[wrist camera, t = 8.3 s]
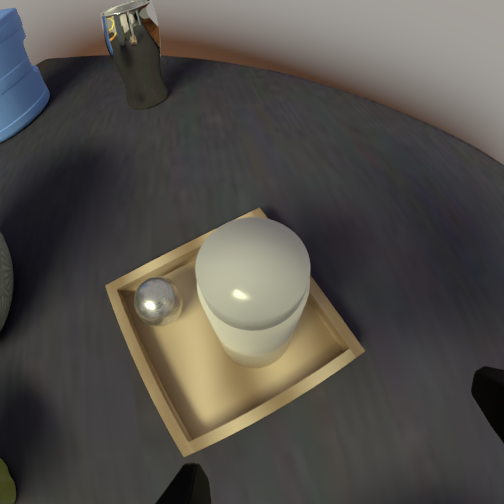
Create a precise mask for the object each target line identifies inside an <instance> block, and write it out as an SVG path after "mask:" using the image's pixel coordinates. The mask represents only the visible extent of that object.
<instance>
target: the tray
mask: <svg viewBox="0 0 504 504" xmlns="http://www.w3.org/2000/svg"><path fill="white" fill-rule="evenodd" d="M247 217H259V218H266V219H268V218H267V217H266V215H265V214H264V213H263V211H262V210H261V209H260V208H258V209H256V210H254V211H251V212H249V213H247V214H245V215H243V216H241V217H239V218H237V219H241V218H247ZM237 219H235V220H237ZM218 228H219V227H218ZM216 229H217V228H216ZM216 229H214V230H212V231H210V232H208V233H206V234H204V235H202V236H200V237H198V238H196V239H194V240H192V241H190V242H188V243H186V244H184V245H182V246H180V247H178V248H176V249H174V250H173V251H171V252H169V253H167V254H165V255H163V256H161V257H159V258H157V259H155V260H153V261H151V262H149V263H147V264H145V265H143V266H141V267H140V268H138V269H136V270H134V271H132V272H130V273H128V274H126V275H124V276H122V277H121V278H119V279H117V280H115V281H113V282H111V283H109V284H107V285H106V286H105V287H106V290H107V292H108V295H109V298H110V301H111V304H112V306H113V309H114V312H115V315H116V317H117V320H118V323H119V325H120V328H121V330H122V333H123V335H124V338H125V340H126V343H127V345H128V347H129V350H130V352H131V354H132V357H133V359H134V361H135V364H136V366H137V368H138V370H139V372H140V375H141V377H142V379H143V381H144V383H145V385H146V387H147V390H148V392H149V394H150V396H151V398H152V400H153V402H154V404H155V406H156V408H157V410H158V412H159V414H160V415H161V417H162V419H163V421H164V423H165V425H166V427H167V429H168V430H169V432H170V434H171V436H172V438H173V439H174V441H175V443H176V445H177V446H178V448H179V450H180V451H181V453H182V455H183V457H185V456H187V455H190V454H192V453H194V452H196V451H199V450H201V449H203V448H205V447H207V446H209V445H211V444H213V443H216V442H218V441H220V440H222V439H224V438H226V437H228V436H230V435H232V434H234V433H236V432H237V431H239V430H241V429H243V428H245V427H247V426H249V425H251V424H252V423H254V422H256V421H258V420H260V419H262V418H263V417H265V416H267V415H269V414H270V413H272V412H274V411H276V410H277V409H279V408H281V407H282V406H284V405H286V404H287V403H289V402H291V401H292V400H294V399H296V398H297V397H299V396H300V395H302V394H304V393H305V392H307V391H308V390H310V389H311V388H313V387H314V386H316V385H317V384H319V383H320V382H322V381H324V380H325V379H326V378H328V377H329V376H331V375H332V374H334V373H335V372H337V371H338V370H340V369H341V368H342V367H344V366H345V365H347V364H348V363H349V362H351V361H352V360H354V359H355V358H356V357H358V356H359V355H360V354H362V353H363V352H364V351H365V350H364V349H363V348H362V346H361V345H360V343H359V342H358V341H357V339H356V338H355V336H354V335H353V333H352V332H351V331H350V329H349V328H348V326H347V325H346V324H345V322H344V321H343V319H342V318H341V317H340V315H339V314H338V312H337V311H336V310H335V308H334V307H333V305H332V304H331V303H330V301H329V300H328V299H327V297H326V296H325V294H324V293H323V292H322V290H321V289H320V288H319V286H318V285H317V283H316V282H315V281H314V279H313V278H312V277H311V275H310V289H309V295H308V298H307V301H306V304H305V306H304V309H303V311H302V314H301V316H300V319H299V321H298V323H297V326H296V328H295V331H294V333H293V335H292V338H291V340H290V343H289V345H288V347H287V349H286V351H285V353H284V354H283V356H282V357H281V358H280V359H279V360H278V361H276V362H275V363H273V364H271V365H269V366H267V367H263V368H247V367H243V366H241V365H239V364H237V363H235V362H234V361H232V360H231V359H230V358H229V357H228V355H227V354H226V353H225V351H224V349H223V347H222V345H221V343H220V341H219V339H218V337H217V335H216V333H215V331H214V329H213V327H212V325H211V323H210V321H209V319H208V317H207V315H206V313H205V311H204V309H203V307H202V304H201V302H200V300H199V296H198V291H197V279H196V272H195V266H196V259H197V255H198V252H199V250H200V248H201V246H202V244H203V243H204V241H205V240H206V239H207V237H208V236H209V235H210V234H211V233H212V232H213V231H215V230H216ZM155 276H161V277H165V278H168V279H170V280H172V281H173V282H174V283H175V284H176V285H177V286H178V287H179V289H180V290H181V293H182V296H183V308H182V311H181V313H180V315H179V317H178V318H177V319H176V320H175V321H174V322H172V323H171V324H169V325H166V326H160V327H158V326H152V325H149V324H147V323H146V322H144V321H143V320H142V319H141V318H140V317H139V316H138V314H137V312H136V310H135V307H134V295H135V292H136V289H137V288H138V286H139V285H140V284H141V283H142V282H143V281H144V280H146V279H148V278H150V277H155Z"/></svg>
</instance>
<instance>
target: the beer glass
mask: <svg viewBox="0 0 504 504" xmlns="http://www.w3.org/2000/svg"><path fill="white" fill-rule="evenodd" d="M100 16H101V21H102V28H103V33H104V38H105V42H106V45H107V48H108V51H109V53H110V56H111V58H112V60H113V62H114V64H115V66H116V67H117V69H118V71H119V73H120V75H121V77H122V79H123V81H124V84H125V88H126V94H127V103H128V106H129V107H130V108H132V109H137V110H140V109H147V108H150V107H153V106H156V105H158V104H159V103H161V102H162V101H164V100H165V99H166V98H167V96H168V89H167V86H166V84H165V82H164V80H163V77H162V73H161V67H160V32H159V26H158V21H157V17H156V13H155V10H154V6H153V2H152V0H132V1H128V2H125V3H122V4H119V5H117V6H114V7H112V8H109V9H107V10H106V11H104V12H102V13H101V15H100Z"/></svg>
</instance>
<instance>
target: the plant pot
mask: <svg viewBox="0 0 504 504" xmlns="http://www.w3.org/2000/svg"><path fill="white" fill-rule="evenodd" d="M15 500H16V487H15V483H14V481H13V479H12V478H11V476H10V474H9V472H8V468H7V465H6V464H5V462H4V461H3V460H2V459H1V458H0V504H14V503H15Z"/></svg>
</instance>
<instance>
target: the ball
mask: <svg viewBox="0 0 504 504" xmlns="http://www.w3.org/2000/svg"><path fill="white" fill-rule="evenodd" d="M134 307H135V310H136V312H137V314H138V316H139V317H140V318H141V319H142V320H143V321H144V322H146V323H147V324H149V325H152V326H158V327H160V326H166V325H169V324H171V323H172V322H174V321H175V320H176V319H177V318H178V317H179V315H180V313H181V311H182V308H183V296H182V293H181V290H180V289H179V287H178V286H177V285H176V284H175V283H174V282H173V281H172V280H170V279H168V278H165V277H161V276H155V277H150V278H148V279H146V280H144V281H143V282H142V283H141V284H140V285H139V286H138V288H137V289H136V292H135V295H134Z"/></svg>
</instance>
